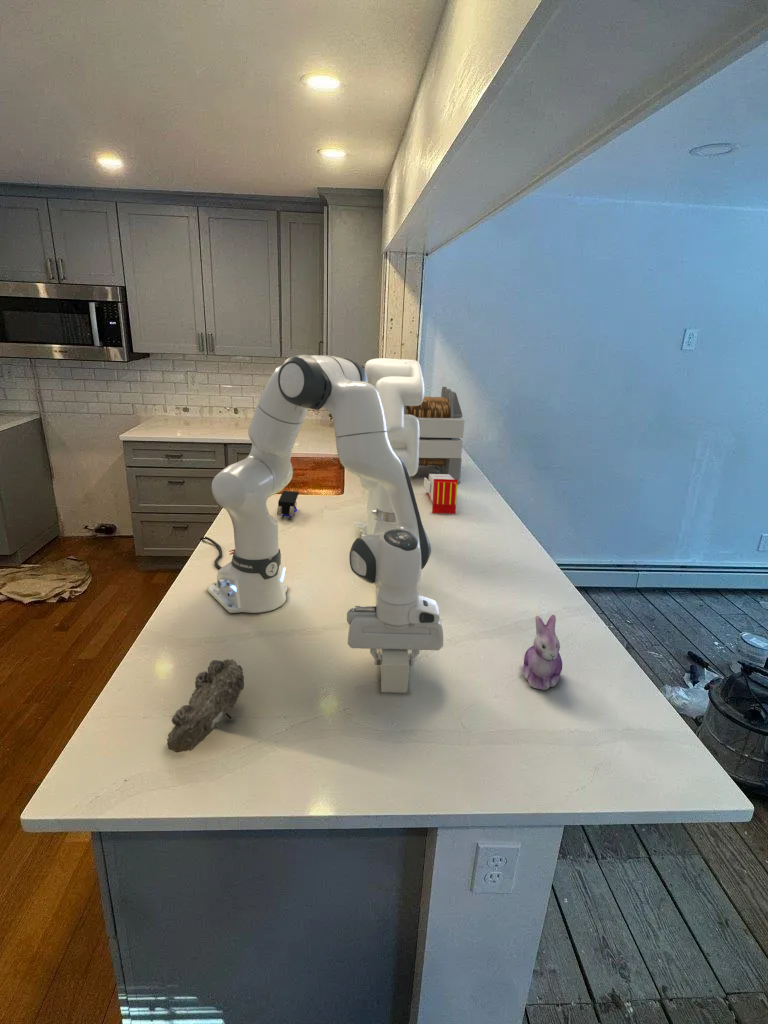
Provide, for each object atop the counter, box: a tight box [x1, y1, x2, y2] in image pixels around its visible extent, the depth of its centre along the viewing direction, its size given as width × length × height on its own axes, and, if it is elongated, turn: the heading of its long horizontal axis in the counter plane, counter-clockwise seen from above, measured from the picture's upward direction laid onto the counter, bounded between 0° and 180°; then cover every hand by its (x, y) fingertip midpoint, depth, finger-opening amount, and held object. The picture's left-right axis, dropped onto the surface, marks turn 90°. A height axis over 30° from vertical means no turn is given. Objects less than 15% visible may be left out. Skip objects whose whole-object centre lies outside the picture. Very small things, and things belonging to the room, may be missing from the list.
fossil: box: [166, 658, 245, 754], centre depth 106 cm, size 22×10×15 cm
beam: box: [379, 649, 410, 694], centre depth 144 cm, size 60×5×7 cm, turn 1°
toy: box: [423, 473, 458, 515], centre depth 232 cm, size 12×13×30 cm
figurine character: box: [276, 490, 300, 521], centre depth 211 cm, size 7×8×15 cm
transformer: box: [390, 386, 465, 484], centre depth 268 cm, size 34×33×41 cm
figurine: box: [522, 614, 563, 691], centre depth 121 cm, size 9×10×15 cm
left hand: (394, 663), depth 122 cm, fingers closed on beam, 5 cm apart
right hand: (387, 571), depth 167 cm, fingers closed on beam, 5 cm apart
